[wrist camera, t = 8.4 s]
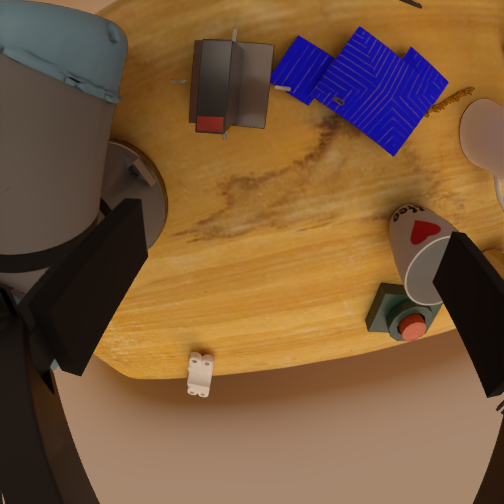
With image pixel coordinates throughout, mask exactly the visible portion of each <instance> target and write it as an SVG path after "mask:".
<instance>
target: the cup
mask: <svg viewBox="0 0 504 504" xmlns="http://www.w3.org/2000/svg"><path fill="white" fill-rule="evenodd" d="M452 231H455V232H459V231H458V230H457V229H456V228H455V227H454V226H453V225H451V224H450V223H449V222H448V221H447V220H445V219H444V218H442V217H441V216H439V215H437V214H436V213H434V212H433V211H431V210H429V209H427V208H424V207H421V206H418V205H415V204H407V205H404V206H402V207H400V208H399V209H397V210H396V211H395V212H394V214H393V215H392V217H391V219H390V223H389V235H390V244H391V248H392V252H393V256H394V261H395V264H396V267H397V270H398V272H399V275H400V277H401V280H402V282H403V285H404V288H405V290H406V293H407V295H408V296H409V298H410V299H411V300H412V301H414V302H415V303H418V304H421V305H436V304H440V303H443V301H442V299H441V297H440V295H439V294H438V292H437V290H436V288H435V286H434V285H433V283H432V281H433V279H434V277H435V274H436V272H437V270H438V267H439V265H440V262H441V260H442V257H443V255H444V252H445V249H446V247H447V244H448V242H449V239H450V236H451V233H452Z"/></svg>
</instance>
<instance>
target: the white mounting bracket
mask: <svg viewBox="0 0 504 504" xmlns="http://www.w3.org/2000/svg"><path fill="white" fill-rule="evenodd" d="M189 361H190V362H189V366H188V371H189V376H188V382H187V386H189V387H188V393H189V394H191V395H196V394H197V393H198V394H199V396H201V397H207V396H208V394H209V389H210V383H211V377H212V371H213V365H214V358H213V356H211V355H208V354H206V355H204V356H201V354H200V353H198V352H192V353H191V356H190V360H189Z"/></svg>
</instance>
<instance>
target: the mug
mask: <svg viewBox="0 0 504 504" xmlns="http://www.w3.org/2000/svg"><path fill="white" fill-rule="evenodd" d="M459 136H460V143H461V147H462V150H463V152H464V154H465V156H466V157H467V159H468V160H469V161H470V162H471V163H472V164H474V165H475V166H478V167H480V168H484V169H485V170H487V171H488V172H490V173H491V174H493V175H494V185H495V192H496V196H497V199H498V202H499V204H500V206H501V208H502V210H503V211H504V199H503V196H502V191H501V180H502V181H503V182H504V106H502V105H499V104H497V103H496V102H494V101H492V100H489V99H480V100H477V101H475V102H473V103H472V104H470V105H469V106H468V108H467V109H466V110H465V112H464V114H463V116H462V119H461V123H460V130H459Z"/></svg>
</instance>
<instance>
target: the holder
mask: <svg viewBox="0 0 504 504" xmlns="http://www.w3.org/2000/svg"><path fill="white" fill-rule="evenodd" d="M243 58H244V49H242V48H241V47H240V46H239V45H238V44H237V43H235V42H234V41H233V40H220V39H203V40H202V46H201V57H200V69H199V81H198V95H197V111H196V129H195V131H196V132H198V133H213V134H225V133H226V131H227V130H228V129H229V128H230V126H231V125H232V124H233V123H234V121H235V120H236V119H237V118H238V108H239V98H240V88H241V78H242V68H243Z"/></svg>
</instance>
